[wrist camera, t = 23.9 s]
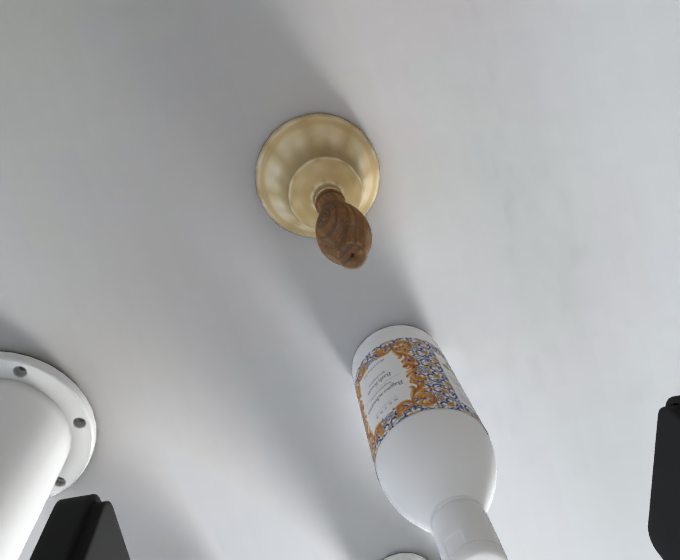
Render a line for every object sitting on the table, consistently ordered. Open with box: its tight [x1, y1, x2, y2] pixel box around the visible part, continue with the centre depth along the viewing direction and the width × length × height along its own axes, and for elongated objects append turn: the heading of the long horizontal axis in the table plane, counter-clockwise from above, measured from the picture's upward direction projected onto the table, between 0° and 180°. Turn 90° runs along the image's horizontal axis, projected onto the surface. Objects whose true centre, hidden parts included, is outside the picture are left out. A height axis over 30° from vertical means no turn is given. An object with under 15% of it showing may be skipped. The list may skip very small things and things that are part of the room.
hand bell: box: [255, 113, 380, 269], centre depth 33 cm, size 8×8×16 cm
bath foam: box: [352, 325, 508, 560], centre depth 37 cm, size 7×7×20 cm
